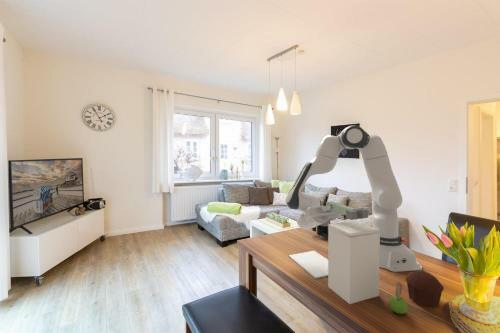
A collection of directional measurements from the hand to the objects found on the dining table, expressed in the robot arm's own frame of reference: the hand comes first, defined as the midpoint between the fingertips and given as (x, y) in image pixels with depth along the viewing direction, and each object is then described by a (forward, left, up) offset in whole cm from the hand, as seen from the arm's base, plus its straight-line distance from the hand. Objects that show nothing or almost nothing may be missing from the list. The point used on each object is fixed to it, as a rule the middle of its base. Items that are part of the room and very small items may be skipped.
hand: (335, 205), depth 101 cm
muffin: (-28, +13, -32) cm, 45 cm away
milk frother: (-9, -54, -32) cm, 64 cm away
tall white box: (-4, +9, -32) cm, 34 cm away
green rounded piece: (-15, +21, -32) cm, 42 cm away
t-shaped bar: (-2, +4, -2) cm, 5 cm away
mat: (+6, -13, -32) cm, 35 cm away
